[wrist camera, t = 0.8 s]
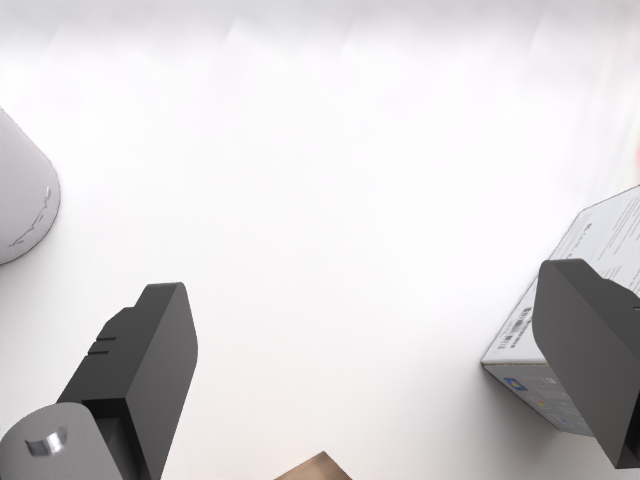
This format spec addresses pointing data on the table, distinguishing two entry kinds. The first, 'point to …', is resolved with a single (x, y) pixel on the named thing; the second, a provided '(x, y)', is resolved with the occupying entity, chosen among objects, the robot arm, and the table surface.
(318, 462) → the cubby
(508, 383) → the hard drive box
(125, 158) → the table surface
